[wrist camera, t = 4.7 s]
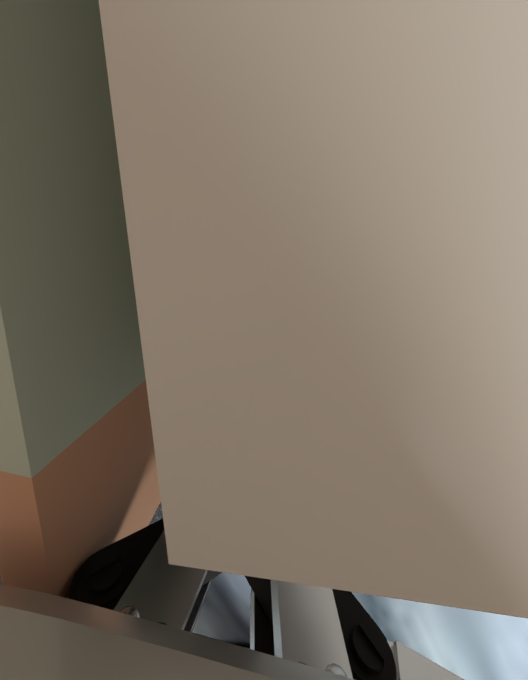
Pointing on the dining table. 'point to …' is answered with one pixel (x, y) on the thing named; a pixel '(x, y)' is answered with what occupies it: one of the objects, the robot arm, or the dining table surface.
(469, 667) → the dining table surface
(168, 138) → the block
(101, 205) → the side door
